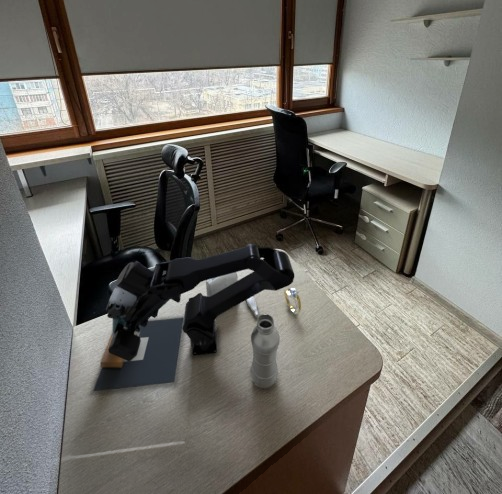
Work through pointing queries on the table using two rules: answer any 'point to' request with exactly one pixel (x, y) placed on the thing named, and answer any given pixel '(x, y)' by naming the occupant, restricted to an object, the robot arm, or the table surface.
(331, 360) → the table surface
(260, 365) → the plastic bottle
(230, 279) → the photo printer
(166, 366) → the desk mat
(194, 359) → the table surface
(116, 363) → the peg on wooden base
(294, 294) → the gold diamond ring
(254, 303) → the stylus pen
